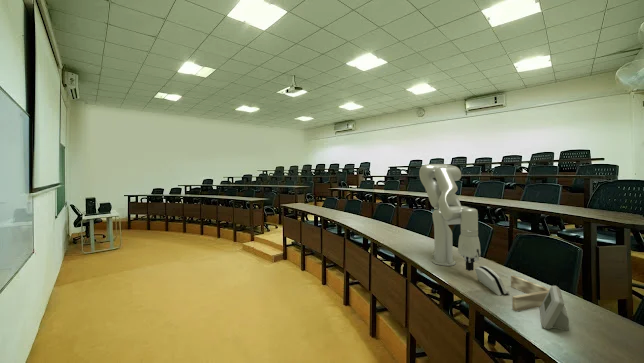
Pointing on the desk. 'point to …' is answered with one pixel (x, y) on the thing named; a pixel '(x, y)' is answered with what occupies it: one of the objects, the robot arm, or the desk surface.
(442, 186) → the robot arm
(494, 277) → the white pencil case
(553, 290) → the digital clock
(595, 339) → the desk surface
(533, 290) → the wooden corner wall
